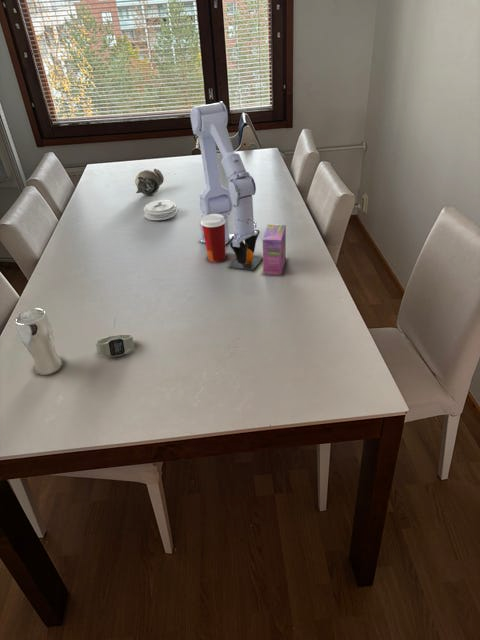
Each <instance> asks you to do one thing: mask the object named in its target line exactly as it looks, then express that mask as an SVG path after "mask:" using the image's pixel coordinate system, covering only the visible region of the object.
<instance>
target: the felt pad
mask: <svg viewBox="0 0 480 640" xmlns="http://www.w3.org/2000/svg"><path fill="white" fill-rule="evenodd" d="M262 261H263V256H257V255H254V256H253V259H252V262H251V263H250V264H241V263H239V262H238V260H237V258H236V259H234V261H233V262H232V263H231V264H230V266H229V269H236V270H243V271H250V272H254V271H255V270H256V268H257V267H258V266H259V265H260V263H261V262H262Z"/></svg>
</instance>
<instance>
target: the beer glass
mask: <svg viewBox="0 0 480 640" xmlns="http://www.w3.org/2000/svg"><path fill="white" fill-rule="evenodd" d="M14 322H15V326H16V329H17V332H18V335H19V338H20V340H21V342H22V344H23V345H24V347H25V349H26V350H27V352H28V353H29V354H30V356H31V358H32V359H33V362H34V368H35V372H36V373H37V374H38V375H41V376H48V375H51V374H54V373H56V372H58V371H59V370H60V369H61V368H62V365H63V362H62V360H61V358H60V357H59V355H58V353H57V349H56V344H55V336H54V332H53V328H52V325H51V322H50V320H49V318H48V315H47V313H46V311H45V310H44V309H43V308H40V307H32V308H28V309H25V310H22V311H21V312H19V313H18V314H16V316H15V317H14Z"/></svg>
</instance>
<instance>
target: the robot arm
mask: <svg viewBox="0 0 480 640" xmlns="http://www.w3.org/2000/svg"><path fill="white" fill-rule="evenodd" d="M189 115H190V116H189V117H190V123H191V128H192V129H191V130H192V133H193V135H195V136H197V138H198V142H199V148H200V154H201V161H202V167H203V173H204V179H205V185H206V186H205V188H204V189H203V190H202V192H200V194H199V209H200V212H201V214H202V215H201V216H200V219H199V230H200V239H201V240H200V243H205V238H204V232H203V227H202V225H201V223H200V222H201V221H202V218H203V217H204V216H206V215H209V214H220V215H222V216H223V217H224V219H225V220H226V222H225V246H226V245H227V244H228V243H229V242H230V241H231V242H230V243H229V246H230V248H231V250H232V251H233V252H234V254H235V258H236V259H237V260H238V262H239V263H241V264H245V263H246V254H247V249H250V250H251V251H252V252H253V254H254V253H255V249H256V244H257V240H258V237H259V235H260V233H261V232H260V230H259V229H257V221H254V203H253V201H254V200H253V199H254V198H253V196H254V195H256V192H257V186H256V182H255V179H254V177H253V176H252V175H251V174H250V172H248V171H247V169H246V168H245V164H244V163H243V160H242V157H241V155H240V153H238V152H235V150H234V147H233V143H232V141H231V140H232V139H231V137H230V134H229V130H228V128H227V126H228V120H229V117H228V116H229V115H228V109H227V106H226V105H225V103H224V102H223V101H218V102H214V103H210V104H203V105H198V106H192V108H191V110H190V114H189ZM217 148H218V150H219V152H220V154H221V156H222V159H221V162H220V163H221V166H222V169H223V171H224V173H225V176H226V179H227V181H228V188H227V187H225V186H223V185H222V180H221V172H220V166H219V165H220V164H219V160H218V153H217ZM232 210H233V218H234V219H233V221H234V233H230V225H229V224H230V223H229V216H230V213H231V212H232Z"/></svg>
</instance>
